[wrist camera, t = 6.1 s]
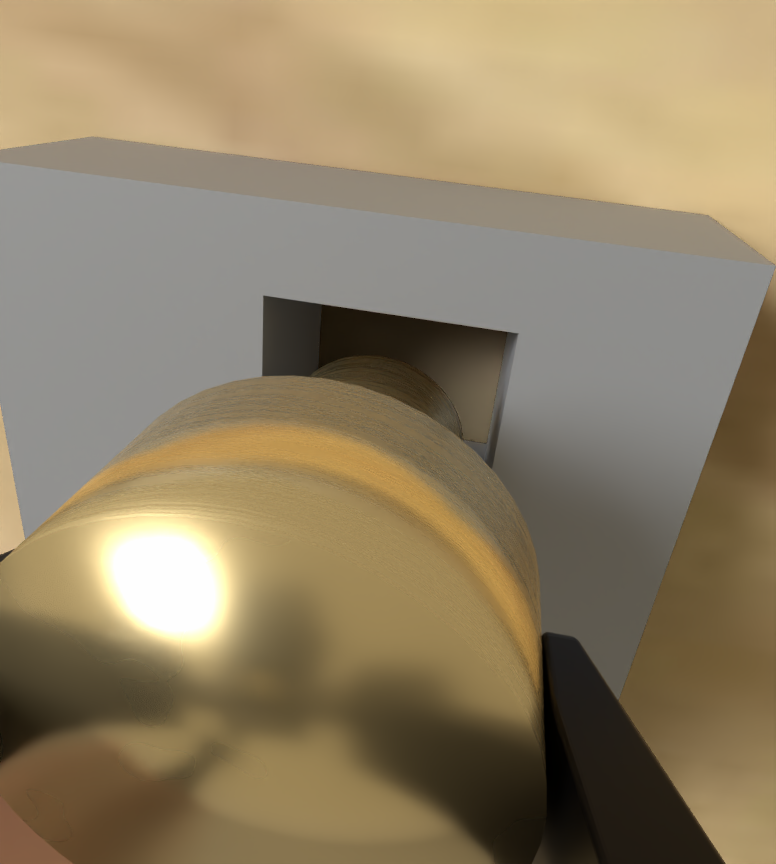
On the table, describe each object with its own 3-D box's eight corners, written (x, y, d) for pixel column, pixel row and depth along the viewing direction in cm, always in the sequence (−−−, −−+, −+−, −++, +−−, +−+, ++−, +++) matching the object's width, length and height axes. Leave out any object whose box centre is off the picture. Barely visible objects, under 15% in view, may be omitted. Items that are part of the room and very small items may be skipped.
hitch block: (539, 766, 23) (543, 907, 19) (144, 682, 25) (72, 797, 21) (708, 215, 15) (776, 265, 11) (92, 136, 16) (-46, 156, 12)
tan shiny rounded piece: (503, 592, 14) (488, 1002, 8) (224, 539, 15) (2, 880, 9) (567, 310, 11) (621, 597, 5) (219, 260, 12) (-115, 459, 6)
